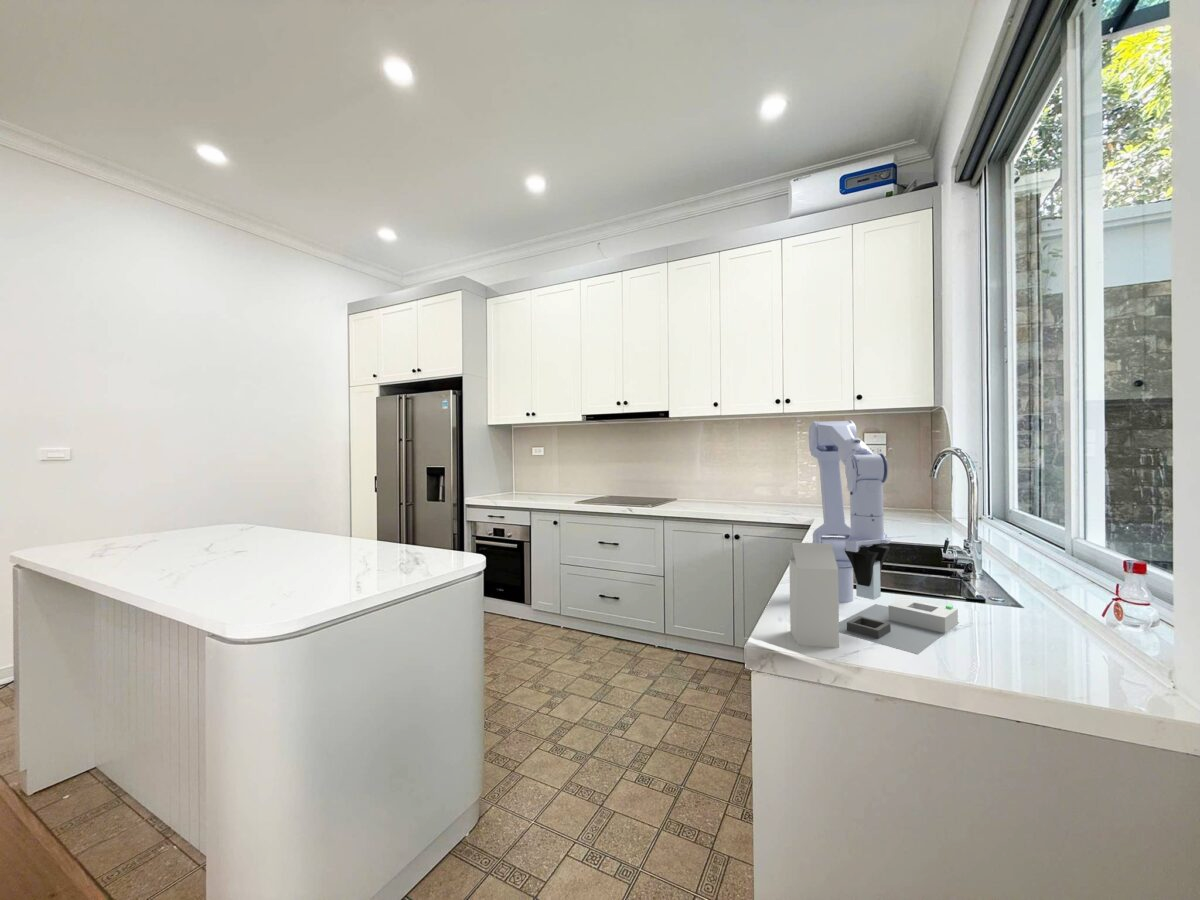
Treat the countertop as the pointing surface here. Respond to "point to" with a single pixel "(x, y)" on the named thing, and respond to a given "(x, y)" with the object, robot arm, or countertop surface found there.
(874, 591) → the plug
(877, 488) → the robot arm
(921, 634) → the panel
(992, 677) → the countertop surface
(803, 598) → the milk carton
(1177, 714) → the countertop surface
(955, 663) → the countertop surface
